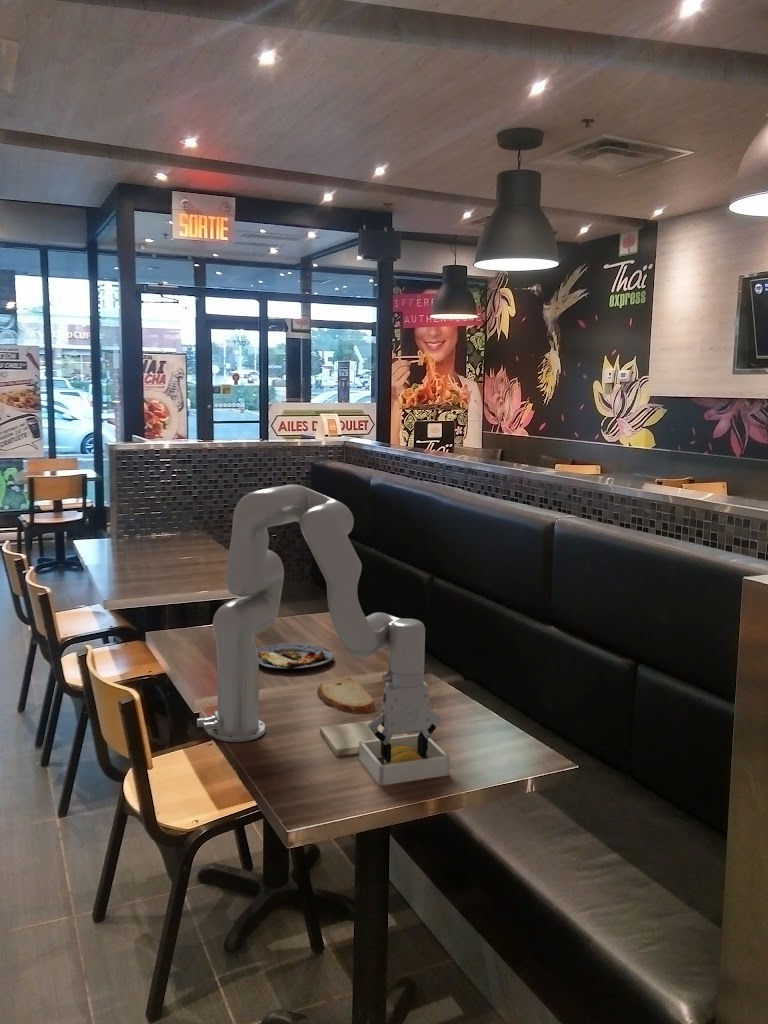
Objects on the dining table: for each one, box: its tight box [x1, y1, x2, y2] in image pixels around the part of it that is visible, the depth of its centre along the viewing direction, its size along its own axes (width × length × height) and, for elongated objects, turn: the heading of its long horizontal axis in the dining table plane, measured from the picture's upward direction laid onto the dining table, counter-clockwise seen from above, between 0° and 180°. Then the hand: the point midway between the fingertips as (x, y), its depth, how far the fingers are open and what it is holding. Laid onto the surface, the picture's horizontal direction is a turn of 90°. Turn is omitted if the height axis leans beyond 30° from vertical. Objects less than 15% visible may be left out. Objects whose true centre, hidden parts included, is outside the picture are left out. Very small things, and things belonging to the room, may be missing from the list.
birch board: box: [319, 720, 408, 757], centre depth 191 cm, size 18×13×2 cm
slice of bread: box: [316, 677, 377, 714], centre depth 217 cm, size 18×18×4 cm
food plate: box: [257, 642, 335, 670], centre depth 246 cm, size 25×23×4 cm
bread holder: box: [358, 733, 451, 787], centre depth 178 cm, size 16×13×4 cm
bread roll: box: [383, 746, 423, 765], centre depth 178 cm, size 8×9×4 cm
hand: (404, 756), depth 177 cm, fingers closed on bread roll, 7 cm apart
